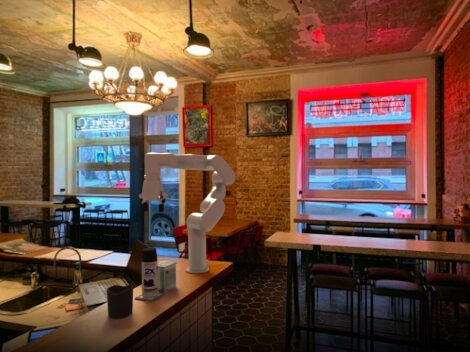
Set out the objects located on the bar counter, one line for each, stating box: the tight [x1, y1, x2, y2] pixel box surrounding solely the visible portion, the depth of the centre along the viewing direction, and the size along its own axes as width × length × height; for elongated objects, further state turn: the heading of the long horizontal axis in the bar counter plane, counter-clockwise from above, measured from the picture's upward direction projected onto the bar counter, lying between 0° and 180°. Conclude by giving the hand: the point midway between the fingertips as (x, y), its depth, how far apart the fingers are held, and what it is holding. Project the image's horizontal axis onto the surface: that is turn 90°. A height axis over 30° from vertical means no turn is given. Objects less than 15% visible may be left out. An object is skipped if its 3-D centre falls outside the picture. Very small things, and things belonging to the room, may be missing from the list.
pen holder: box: [106, 284, 134, 320], centre depth 125 cm, size 9×9×10 cm
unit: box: [157, 259, 178, 295], centre depth 152 cm, size 10×8×12 cm
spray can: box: [141, 247, 158, 298], centre depth 142 cm, size 7×7×20 cm
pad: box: [134, 293, 166, 303], centre depth 142 cm, size 9×9×1 cm
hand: (153, 211), depth 166 cm, fingers open, 9 cm apart
